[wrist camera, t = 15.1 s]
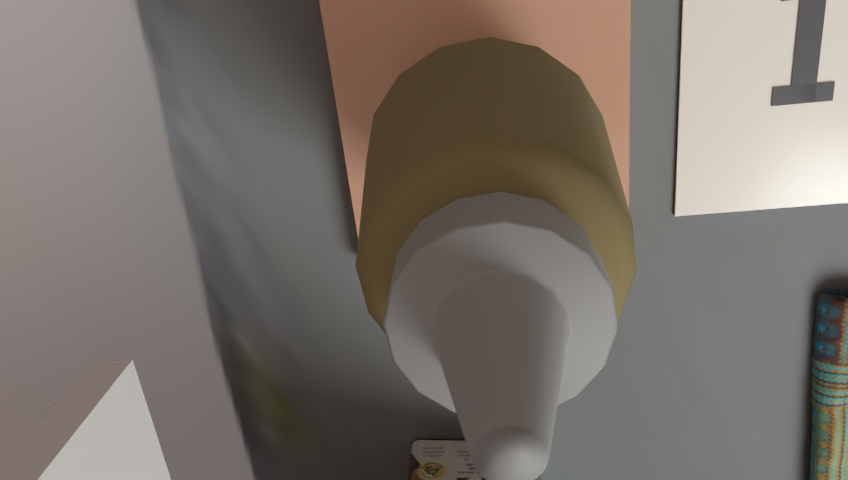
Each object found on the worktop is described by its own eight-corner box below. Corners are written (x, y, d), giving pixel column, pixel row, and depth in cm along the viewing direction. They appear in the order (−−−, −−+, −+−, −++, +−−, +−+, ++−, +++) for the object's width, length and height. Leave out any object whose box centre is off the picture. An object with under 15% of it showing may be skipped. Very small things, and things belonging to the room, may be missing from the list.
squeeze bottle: (343, 73, 26) (141, 324, 10) (549, -16, 25) (716, 111, 8) (427, 254, 29) (377, 678, 13) (616, 186, 28) (836, 575, 11)
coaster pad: (624, 241, 29) (628, 249, 29) (365, 261, 30) (362, 269, 30) (626, -40, 25) (631, -39, 24) (322, -6, 26) (318, -4, 25)
